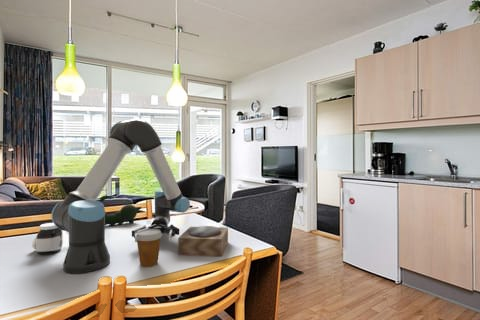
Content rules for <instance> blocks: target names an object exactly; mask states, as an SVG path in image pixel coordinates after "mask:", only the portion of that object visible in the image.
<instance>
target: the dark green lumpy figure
mask: <svg viewBox="0 0 480 320" xmlns="http://www.w3.org/2000/svg"><path fill="white" fill-rule="evenodd" d="M107 199H109V200H112V197H111V196H110V195H107V194H106V195H102V196H101V197H100V199H96V201H99V202H101V203H103V202H104V201H106V200H107ZM142 208H143V207H142V206H134V205H133V204H125V205H124V206H122V207H121V209H120V210H118V211H116V212H114V213H111V214H108V213H107V212H106V211H105V226H107V224H109V225H111V226H112V227H114V226H116V224H117V223H119V225H123V224H124V221H126V222H127V221H128V223H129V224H132V223H134V222H135V218H136V216H137V214H138V211H140V210H141V209H142Z"/></svg>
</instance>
